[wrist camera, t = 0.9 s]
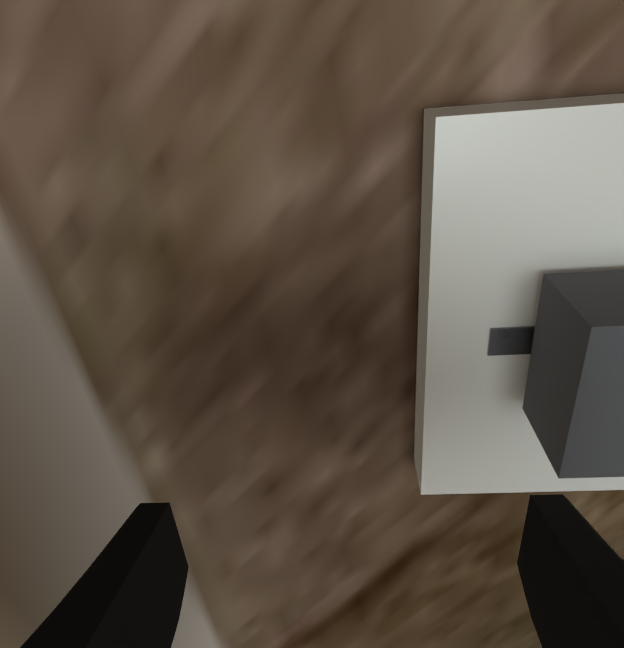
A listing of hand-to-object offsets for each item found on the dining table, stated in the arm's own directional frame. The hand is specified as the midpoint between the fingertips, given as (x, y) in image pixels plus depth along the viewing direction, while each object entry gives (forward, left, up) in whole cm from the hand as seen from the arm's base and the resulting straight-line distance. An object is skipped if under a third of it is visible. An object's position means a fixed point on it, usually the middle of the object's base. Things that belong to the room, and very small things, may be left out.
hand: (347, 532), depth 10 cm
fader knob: (0, -8, -7) cm, 10 cm away
